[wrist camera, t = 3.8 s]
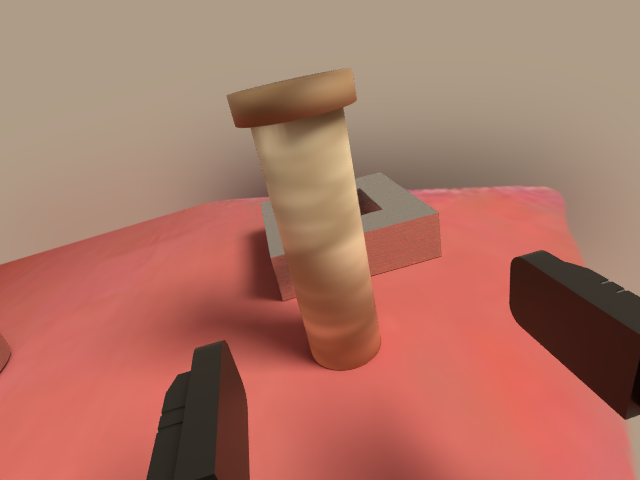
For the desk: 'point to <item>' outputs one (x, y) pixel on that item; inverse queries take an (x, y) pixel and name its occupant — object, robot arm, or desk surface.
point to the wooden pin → (316, 208)
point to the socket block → (374, 230)
